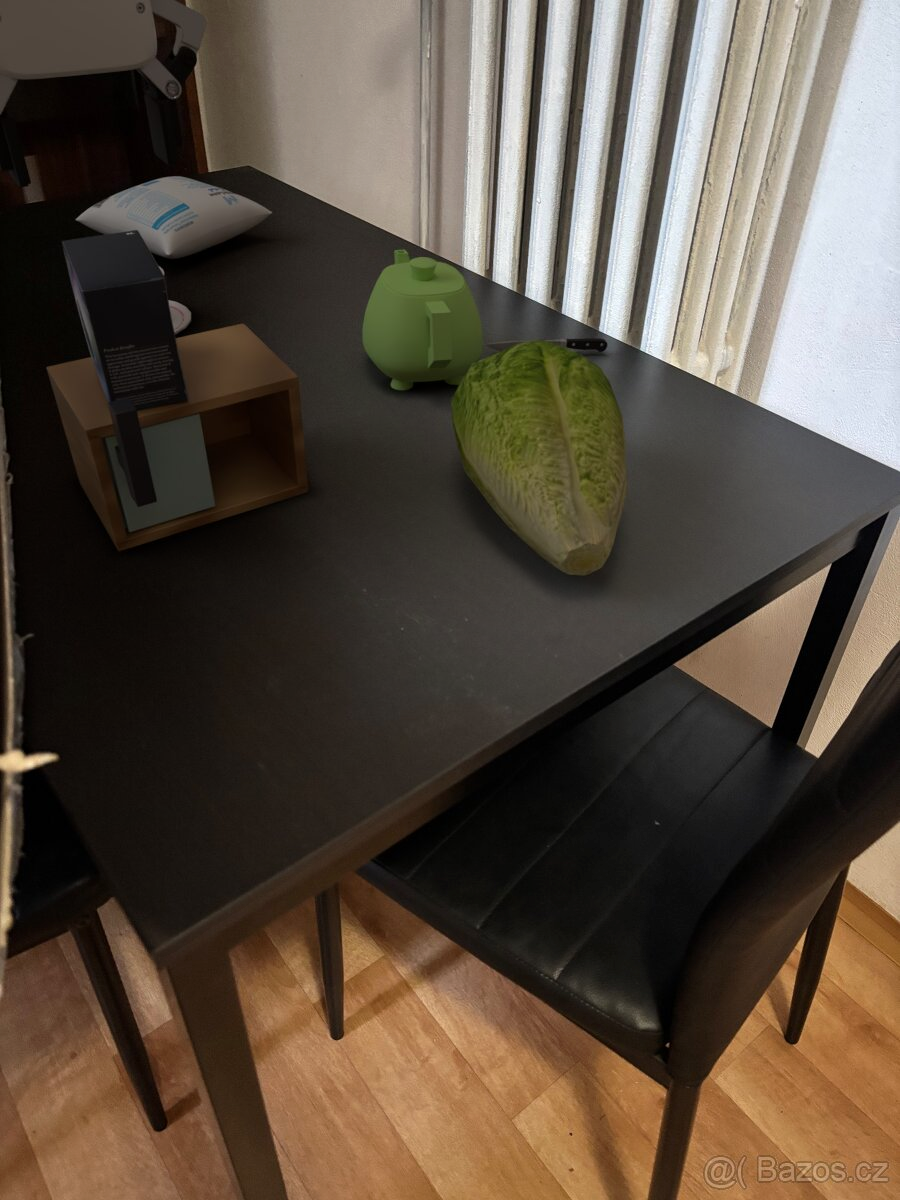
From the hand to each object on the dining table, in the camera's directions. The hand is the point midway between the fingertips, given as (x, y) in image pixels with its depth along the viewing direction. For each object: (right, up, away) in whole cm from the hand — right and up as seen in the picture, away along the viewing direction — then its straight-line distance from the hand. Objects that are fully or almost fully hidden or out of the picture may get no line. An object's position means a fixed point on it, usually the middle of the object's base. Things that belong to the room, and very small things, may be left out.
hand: (96, 170), depth 60 cm
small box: (-3, -10, +16) cm, 19 cm away
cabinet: (-1, -18, +25) cm, 31 cm away
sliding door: (0, -22, +19) cm, 29 cm away
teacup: (-14, +5, +52) cm, 54 cm away
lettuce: (+32, -21, +24) cm, 45 cm away
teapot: (+20, -2, +45) cm, 49 cm away
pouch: (-16, +23, +71) cm, 77 cm away
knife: (+35, 0, +48) cm, 59 cm away
